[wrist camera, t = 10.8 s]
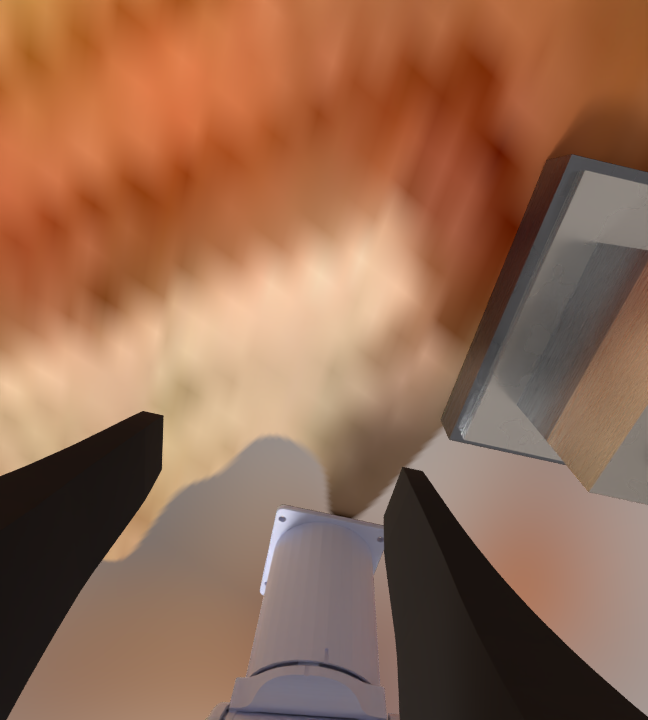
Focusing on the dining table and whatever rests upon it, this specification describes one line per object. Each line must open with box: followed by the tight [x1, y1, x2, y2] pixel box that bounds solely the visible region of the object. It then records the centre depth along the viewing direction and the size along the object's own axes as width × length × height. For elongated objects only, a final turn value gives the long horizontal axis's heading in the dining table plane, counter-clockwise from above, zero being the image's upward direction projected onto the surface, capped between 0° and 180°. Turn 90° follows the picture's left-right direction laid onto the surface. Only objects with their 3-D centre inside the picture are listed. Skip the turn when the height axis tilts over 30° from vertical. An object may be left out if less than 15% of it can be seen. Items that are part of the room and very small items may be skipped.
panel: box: [441, 154, 648, 465], centre depth 18 cm, size 14×9×2 cm, turn 168°
